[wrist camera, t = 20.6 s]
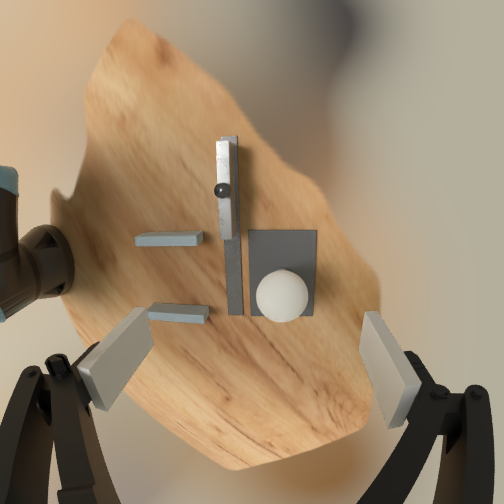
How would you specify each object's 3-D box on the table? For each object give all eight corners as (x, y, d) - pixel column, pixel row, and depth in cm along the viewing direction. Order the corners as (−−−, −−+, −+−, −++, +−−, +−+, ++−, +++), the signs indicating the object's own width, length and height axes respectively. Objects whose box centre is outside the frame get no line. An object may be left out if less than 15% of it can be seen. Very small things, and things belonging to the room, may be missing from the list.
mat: (251, 314, 45) (250, 315, 45) (248, 230, 41) (248, 230, 41) (312, 315, 44) (312, 316, 44) (316, 229, 40) (316, 230, 40)
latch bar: (225, 232, 41) (216, 241, 36) (221, 145, 38) (212, 140, 32) (238, 232, 41) (231, 241, 36) (235, 144, 38) (228, 139, 32)
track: (228, 314, 45) (228, 314, 45) (220, 137, 38) (220, 136, 38) (243, 314, 45) (242, 315, 45) (237, 136, 38) (236, 135, 38)
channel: (155, 310, 47) (147, 319, 43) (144, 232, 43) (134, 236, 40) (209, 313, 46) (204, 323, 42) (202, 230, 42) (196, 235, 39)
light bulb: (310, 265, 42) (321, 295, 31) (291, 301, 43) (294, 339, 33) (271, 247, 41) (268, 272, 31) (253, 285, 43) (245, 319, 33)
